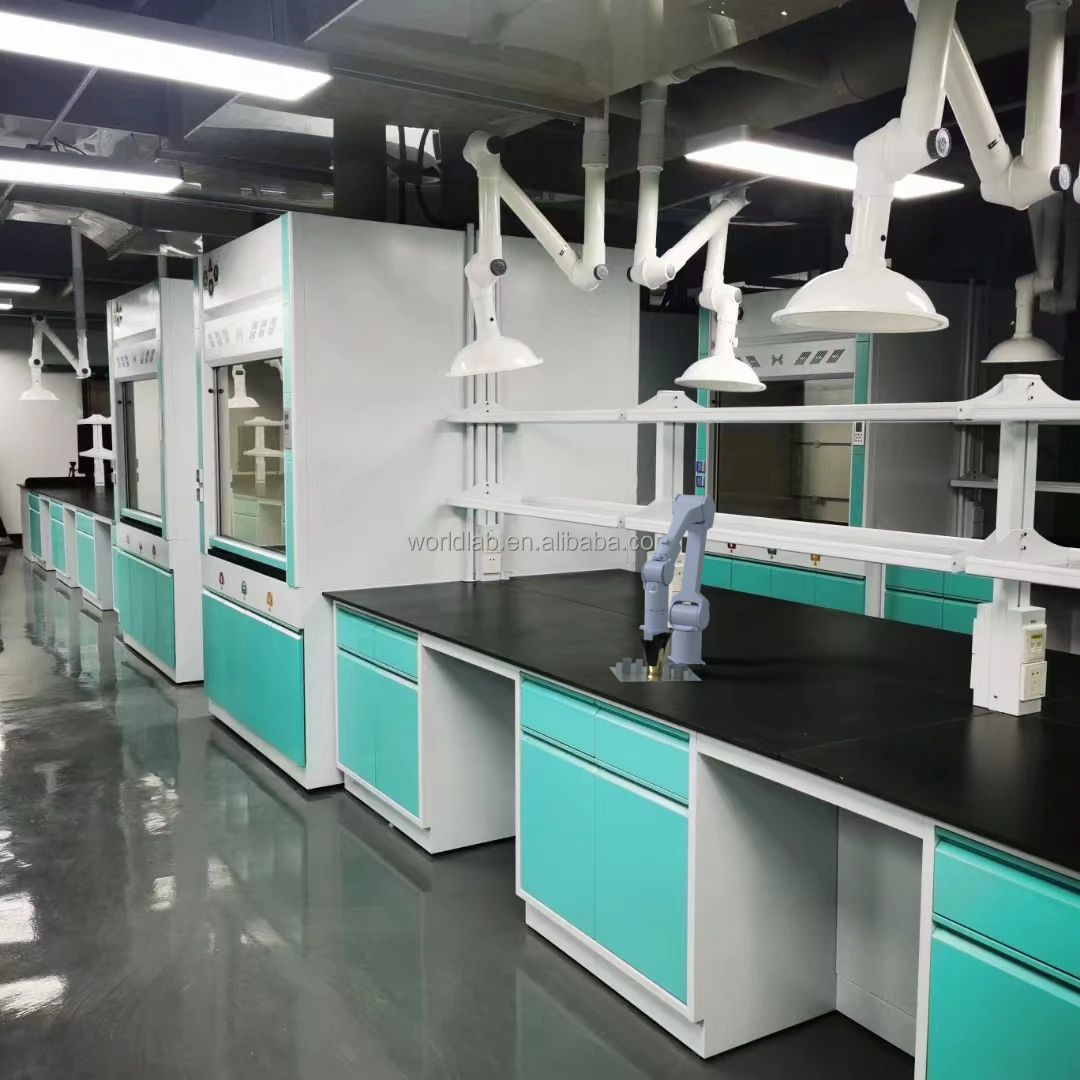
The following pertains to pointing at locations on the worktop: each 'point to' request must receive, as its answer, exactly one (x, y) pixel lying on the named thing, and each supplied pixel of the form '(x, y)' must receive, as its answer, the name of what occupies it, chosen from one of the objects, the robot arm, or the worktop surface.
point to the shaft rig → (638, 673)
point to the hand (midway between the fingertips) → (655, 663)
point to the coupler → (659, 668)
